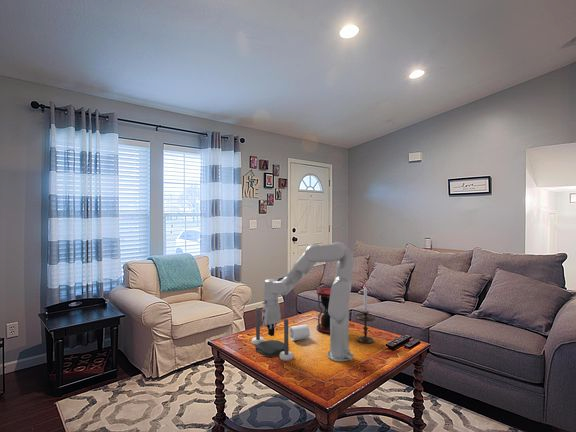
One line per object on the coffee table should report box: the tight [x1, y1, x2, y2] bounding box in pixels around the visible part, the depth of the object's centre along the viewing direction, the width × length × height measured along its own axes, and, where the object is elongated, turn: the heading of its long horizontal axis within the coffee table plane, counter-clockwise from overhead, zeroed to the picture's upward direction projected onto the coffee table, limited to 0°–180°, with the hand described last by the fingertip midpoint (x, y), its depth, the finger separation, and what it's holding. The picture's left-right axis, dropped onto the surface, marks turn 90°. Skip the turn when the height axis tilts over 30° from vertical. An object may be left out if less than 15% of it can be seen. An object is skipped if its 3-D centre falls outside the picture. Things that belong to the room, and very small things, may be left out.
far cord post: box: [251, 307, 265, 346], centre depth 197 cm, size 7×7×20 cm
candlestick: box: [355, 281, 376, 345], centre depth 198 cm, size 11×11×35 cm
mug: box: [288, 323, 311, 342], centre depth 203 cm, size 12×10×8 cm
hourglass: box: [316, 287, 331, 335], centre depth 216 cm, size 16×16×25 cm
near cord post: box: [279, 318, 294, 362], centre depth 177 cm, size 7×7×20 cm
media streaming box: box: [255, 339, 284, 358], centre depth 187 cm, size 15×15×3 cm
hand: (271, 335), depth 187 cm, fingers closed
